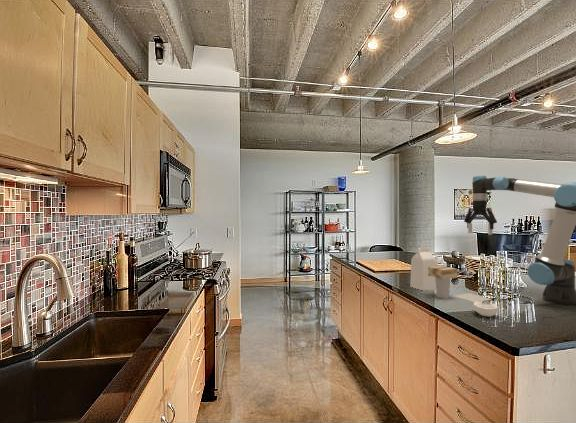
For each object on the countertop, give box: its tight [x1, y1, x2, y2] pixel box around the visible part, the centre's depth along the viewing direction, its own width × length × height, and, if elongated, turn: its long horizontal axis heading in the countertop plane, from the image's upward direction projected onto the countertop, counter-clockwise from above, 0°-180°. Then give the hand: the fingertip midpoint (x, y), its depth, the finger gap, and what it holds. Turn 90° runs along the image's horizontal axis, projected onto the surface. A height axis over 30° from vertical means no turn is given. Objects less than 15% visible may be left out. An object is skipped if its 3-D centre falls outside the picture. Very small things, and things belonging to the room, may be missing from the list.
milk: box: [409, 246, 438, 292], centre depth 198 cm, size 12×12×26 cm
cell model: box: [473, 300, 500, 318], centre depth 145 cm, size 10×12×7 cm
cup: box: [435, 277, 452, 300], centre depth 175 cm, size 8×8×12 cm
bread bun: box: [428, 265, 458, 280], centre depth 176 cm, size 10×10×5 cm
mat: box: [452, 292, 493, 303], centre depth 174 cm, size 14×14×1 cm
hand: (479, 233), depth 195 cm, fingers open, 13 cm apart
